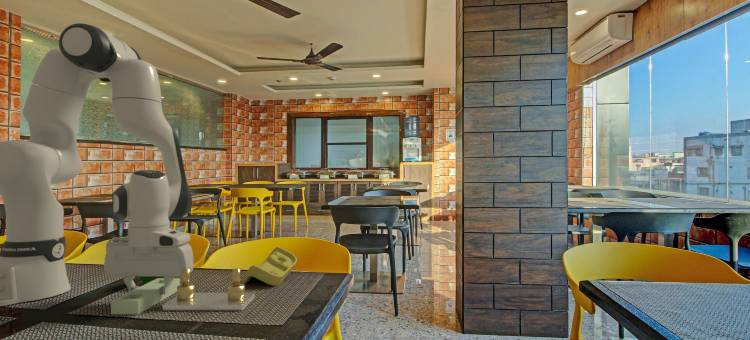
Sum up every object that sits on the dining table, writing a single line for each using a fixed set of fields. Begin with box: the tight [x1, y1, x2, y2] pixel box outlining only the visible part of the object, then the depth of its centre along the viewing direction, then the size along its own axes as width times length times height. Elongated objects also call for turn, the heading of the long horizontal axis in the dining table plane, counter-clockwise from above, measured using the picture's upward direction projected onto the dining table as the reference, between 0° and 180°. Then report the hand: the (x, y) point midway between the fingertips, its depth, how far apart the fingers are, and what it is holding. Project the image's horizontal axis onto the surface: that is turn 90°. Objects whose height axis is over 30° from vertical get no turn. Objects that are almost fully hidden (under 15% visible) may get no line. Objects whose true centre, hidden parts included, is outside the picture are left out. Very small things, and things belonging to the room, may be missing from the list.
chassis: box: [162, 267, 256, 311], centre depth 92 cm, size 18×9×8 cm, turn 90°
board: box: [110, 277, 181, 315], centre depth 94 cm, size 18×6×3 cm, turn 0°
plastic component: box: [240, 246, 298, 287], centre depth 115 cm, size 20×7×10 cm
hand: (149, 294), depth 94 cm, fingers closed on board, 6 cm apart
